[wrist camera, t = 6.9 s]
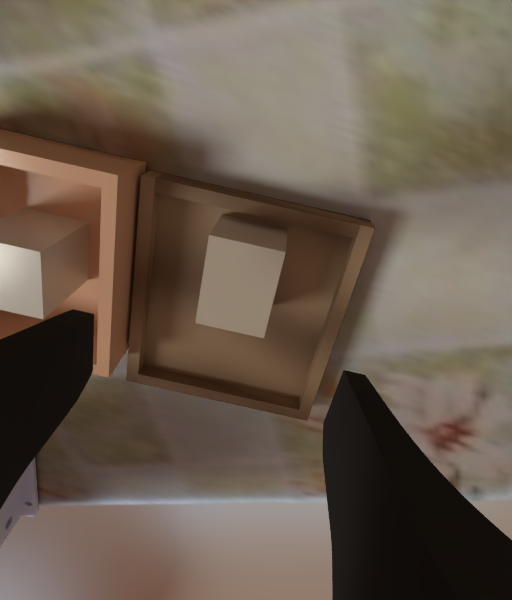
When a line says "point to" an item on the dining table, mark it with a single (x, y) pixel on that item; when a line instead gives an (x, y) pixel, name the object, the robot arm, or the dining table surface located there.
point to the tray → (223, 343)
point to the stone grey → (41, 261)
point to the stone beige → (241, 275)
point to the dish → (86, 207)
